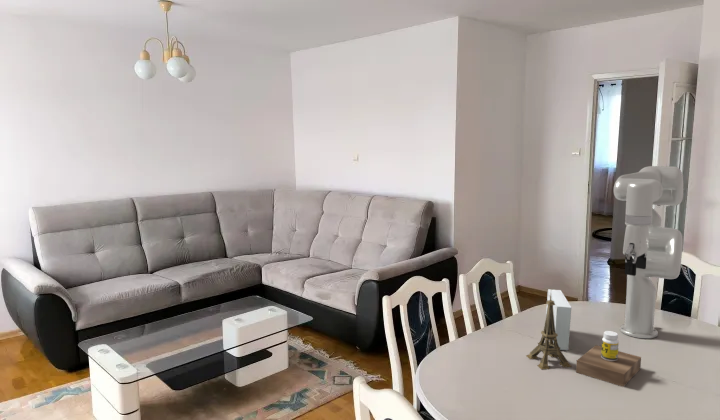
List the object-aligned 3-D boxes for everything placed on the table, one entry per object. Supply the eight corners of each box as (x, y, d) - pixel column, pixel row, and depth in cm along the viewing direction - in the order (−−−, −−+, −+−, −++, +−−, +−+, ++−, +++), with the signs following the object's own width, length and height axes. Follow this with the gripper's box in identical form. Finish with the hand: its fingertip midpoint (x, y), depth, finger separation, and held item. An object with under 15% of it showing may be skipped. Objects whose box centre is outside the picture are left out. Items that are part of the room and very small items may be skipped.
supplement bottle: (598, 355, 165) (599, 330, 164) (612, 354, 165) (613, 330, 164) (606, 362, 160) (607, 336, 159) (620, 361, 161) (622, 335, 159)
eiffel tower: (541, 369, 165) (544, 294, 161) (526, 356, 175) (528, 285, 172) (571, 367, 167) (575, 292, 163) (554, 353, 177) (557, 283, 173)
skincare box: (570, 351, 178) (572, 307, 176) (553, 350, 179) (555, 306, 177) (559, 328, 199) (561, 289, 196) (544, 328, 200) (546, 288, 198)
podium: (595, 356, 174) (595, 345, 173) (640, 368, 164) (641, 357, 163) (576, 372, 162) (576, 360, 162) (623, 386, 153) (624, 374, 152)
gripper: (634, 215, 174) (631, 264, 177) (616, 223, 162) (613, 275, 165) (659, 217, 169) (656, 267, 171) (642, 225, 157) (639, 279, 159)
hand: (635, 271), depth 168 cm, fingers open, 9 cm apart
